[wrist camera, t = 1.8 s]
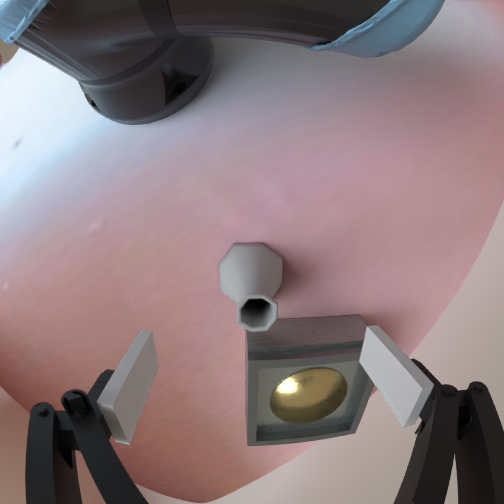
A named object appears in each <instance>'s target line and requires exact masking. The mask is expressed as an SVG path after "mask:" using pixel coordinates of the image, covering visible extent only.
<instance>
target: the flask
mask: <svg viewBox="0 0 504 504" xmlns="http://www.w3.org/2000/svg"><path fill="white" fill-rule="evenodd" d="M282 271H283V258H282V257H281V256H279V255H278V254H276V253H275V252H274V251H272V250H271V249H269V248H268V247H267V246H265V245H264V244H262V243H234V244H233V245H232V246H231V248H230V249H229V251H228V252H227V253H226V255H225V256H224V258H223V259H222V260H221V262H220V263H219V265H218V272H219V290H220V291H221V292H222V293H224V294H225V295H227V296H228V297H229V298H231V299H232V300H233V301H234V302H235V303H237V307H236V313H237V324H239V325H240V326H242V327H244V328H245V329H247V330H249V331H250V332H256V331H268V330H269V328H270V327H271V326H272V325H273V324H274V322H275V321H276V320H277V316H278V302H276V301H275V300H273V299H272V298H273V297H274V295H275V293H276V292H277V290H278V289H279V287H280V286H281V285H282Z"/></svg>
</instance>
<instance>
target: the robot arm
mask: <svg viewBox="0 0 504 504" xmlns="http://www.w3.org/2000/svg"><path fill="white" fill-rule="evenodd" d="M444 1H445V0H0V38H2V39H3V41H4V42H5V43H7V44H10V43H13V44H15V45H17V46H18V47H20V48H22V49H24V50H26V51H28V52H29V53H31V54H33V55H35V56H37V57H38V58H40V59H42V60H44V61H46V62H47V63H49V64H51V65H53V66H54V67H56V68H58V69H59V70H61V71H63V72H64V73H66V74H68V75H69V76H71V77H73V78H75V79H76V80H77V81H78V83H79V85H80V87H81V89H82V91H83V92H84V94H85V97H86V99H87V101H88V102H89V104H90V105H91V106H92V107H93V109H94V110H96V111H97V112H98V113H99V114H101V115H103V116H105V117H106V118H108V119H110V120H112V121H115V122H118V123H122V124H130V125H137V124H145V123H150V122H154V121H157V120H160V119H162V118H165V117H167V116H169V115H171V114H172V113H174V112H176V111H177V110H179V109H180V108H182V107H183V106H185V105H186V104H187V103H188V102H189V101H190V100H192V99H193V98H194V97H195V96H196V94H197V93H198V92H199V91H200V90H201V88H202V87H203V85H204V84H205V82H206V80H207V78H208V76H209V74H210V72H211V68H212V64H213V47H212V42H211V37H222V38H247V39H260V40H269V41H276V42H283V43H290V44H295V45H301V46H303V47H305V48H308V49H311V50H330V51H336V52H341V53H346V54H350V55H354V56H359V57H379V56H383V55H385V54H388V53H389V52H392V51H397V50H400V49H402V48H403V47H405V46H406V45H408V44H409V43H411V42H412V41H414V40H415V39H416V38H417V37H419V36H420V35H421V34H422V33H423V32H424V31H425V30H426V29H427V28H428V26H429V25H430V24H431V23H432V21H433V20H434V19H435V17H436V16H437V14H438V13H439V11H440V9H441V7H442V5H443V3H444ZM359 362H360V364H361V365H362V367H363V368H364V369H365V371H366V372H367V374H368V375H369V377H370V378H371V380H372V381H373V383H374V384H375V386H376V387H377V389H378V390H379V392H380V393H381V395H382V396H383V398H384V399H385V401H386V402H387V404H388V405H389V407H390V408H391V410H392V411H393V413H394V414H395V416H396V417H397V419H398V420H399V422H400V423H401V425H402V427H403V428H404V427H407V426H410V425H413V424H415V422H416V420H417V419H418V417H419V416H420V418H421V419H422V421H421V423H420V425H419V427H418V429H417V430H416V432H415V434H417V432H418V434H417V438H416V441H415V445H414V448H413V452H412V455H411V458H410V461H409V465H408V467H407V470H406V473H405V476H404V479H403V482H402V484H401V487H400V489H399V492H398V494H397V497H396V499H395V502H394V504H444V502H445V498H446V494H447V490H448V486H449V480H450V476H451V471H452V466H453V459H454V453H455V460H456V469H457V481H458V504H504V431H503V428H502V425H501V422H500V419H499V416H498V413H497V411H496V408H495V405H494V403H493V400H492V398H491V395H490V393H489V391H488V388H487V387H486V385H484V384H483V383H481V382H477V381H475V382H472V383H470V385H469V387H468V389H467V390H459V391H458V390H457V389H456V388H455V387H454V386H452V385H446V384H444V385H442V384H441V383H440V382H439V381H438V380H437V379H436V378H435V377H434V376H433V375H432V374H431V373H430V372H429V371H428V370H427V369H426V368H425V366H423V364H422V363H420V362H419V361H417V360H415V359H410V358H409V357H408V356H407V355H406V354H405V353H404V352H403V351H402V350H401V349H400V348H399V347H398V346H397V345H396V344H395V343H394V342H393V341H392V340H391V339H390V338H389V337H388V335H387V334H386V333H385V332H384V331H383V330H382V329H381V328H380V327H379V326H378V325H372V326H367V329H366V333H365V338H364V343H363V347H362V351H361V356H360V360H359ZM158 368H159V366H158V361H157V356H156V350H155V344H154V338H153V332H152V330H140V331H139V333H138V334H137V336H136V337H135V339H134V341H133V342H132V344H131V345H130V347H129V349H128V350H127V352H126V353H125V355H124V357H123V358H122V360H121V361H120V363H119V365H118V366H117V368H116V370H115V371H114V370H108V369H107V370H106V371H104V372H103V373H101V374H100V376H99V377H98V379H97V380H96V382H95V383H94V385H93V387H92V388H91V390H90V391H89V393H88V394H86V393H85V392H84V391H82V390H78V389H74V390H70V391H67V392H66V393H65V394H63V396H62V398H61V403H62V405H63V407H64V409H65V411H56V410H54V408H53V406H52V405H51V404H49V403H47V402H40V403H37V404H35V405H34V406H33V407H32V409H31V413H30V420H29V427H28V437H27V448H26V449H27V450H26V470H25V473H26V474H25V483H26V504H82V499H81V493H80V487H79V481H78V474H77V466H76V457H75V450H81V453H82V455H83V458H84V460H85V462H86V464H87V467H88V469H89V471H90V473H91V475H92V478H93V480H94V481H95V484H96V486H97V487H98V489H99V491H100V493H101V495H102V497H103V499H104V501H105V502H106V504H149V503H148V502H147V501H146V499H145V498H144V497H143V495H142V494H141V492H140V491H139V489H138V488H137V487H136V485H135V484H134V482H133V480H132V479H131V477H130V476H129V474H128V473H127V471H126V469H125V468H124V466H123V465H122V463H121V461H120V459H119V458H118V456H117V454H116V452H115V451H114V449H113V447H112V445H111V443H110V441H109V439H110V437H111V435H112V436H113V438H114V440H115V442H120V443H124V444H129V445H130V442H131V440H132V437H133V434H134V431H135V428H136V426H137V423H138V420H139V417H140V415H141V412H142V409H143V407H144V404H145V401H146V399H147V396H148V393H149V391H150V388H151V386H152V383H153V381H154V378H155V375H156V373H157V370H158Z"/></svg>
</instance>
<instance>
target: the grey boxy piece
mask: <svg viewBox="0 0 504 504" xmlns="http://www.w3.org/2000/svg"><path fill="white" fill-rule="evenodd" d="M367 326H369V325H368V324H367V323H366V322H365V321H364V320H363V319H362V318H361V317H360V315H359V314H357V315H344V316H329V317H312V318H289V319H277V320H276V321H275V322H274V324H273V325H272V326H271V327H270V328H269V330H268V331H256V332H250V331H249V330H247V329H246V339H245V414H246V431H247V446H264V445H279V444H290V443H299V442H307V441H315V440H321V439H327V438H333V437H338V436H344V435H348V434H353V433H355V432H356V430H357V428H358V425H359V423H360V420H361V418H362V415H363V413H364V410H365V407H366V405H367V402H368V399H369V397H370V394H371V391H372V388H373V385H374V383H373V381H372V380H371V378H370V377H369V375H368V374H367V372H366V371H365V369H364V368H363V367H362V365H361V364H360V362H359V360H360V356H361V351H362V347H363V343H364V338H365V333H366V329H367Z"/></svg>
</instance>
